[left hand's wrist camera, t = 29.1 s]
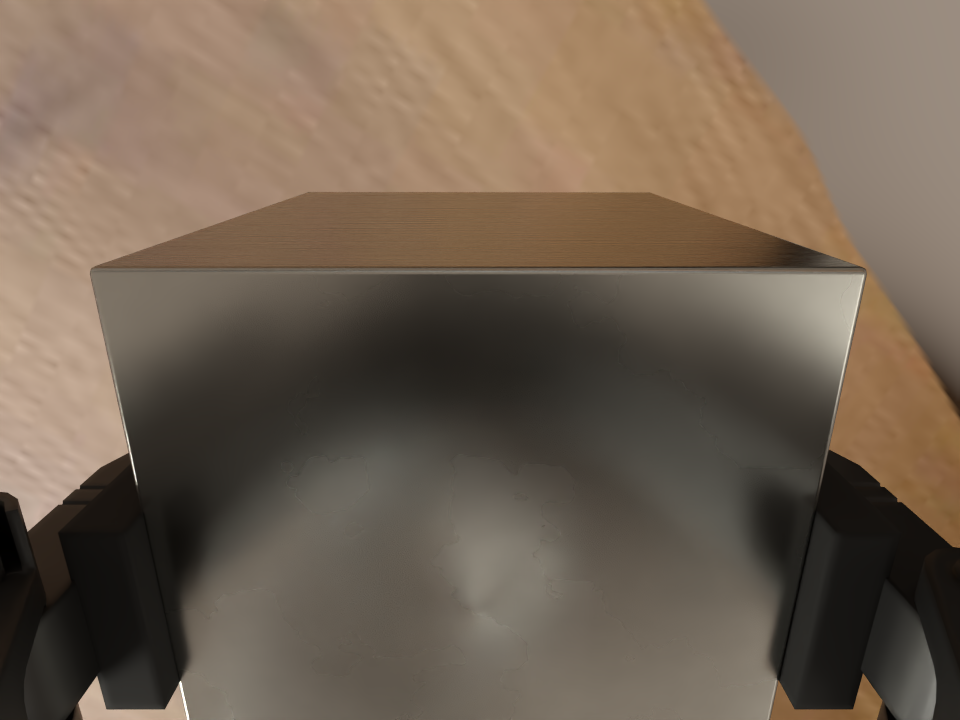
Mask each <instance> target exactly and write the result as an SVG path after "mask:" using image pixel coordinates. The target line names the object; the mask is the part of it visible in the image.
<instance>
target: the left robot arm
mask: <svg viewBox="0 0 960 720" xmlns="http://www.w3.org/2000/svg"><path fill="white" fill-rule="evenodd" d="M863 674H864V675H865V676H866V678H867V679H868V681H869V682H870V683H871V685H872V686H873V688H874V689H875V690H876V692H877V693H878V695H879V696H880V698H881V699H882V700H883V701H882V705H881V708H880V711H879V715H878V718H877V720H960V548H955V547H952V546H951V545H950V544H949V543H947V542H946V541H945V540H944V539H943V538H942V537H941V536H940V535H938V534H937V533H936V532H935V531H934V530H933V529H932V528H930V527H929V526H928V525H927V524H926V523H925V522H924V521H922V520H921V519H920V518H919V517H918V516H917V515H916V514H914V513H913V512H912V511H911V510H910V509H909V508H908V507H906V506H905V505H904V504H903V503H902V502H897V498H896V497H895V496H894V495H893V494H892V493H890V492H889V491H888V490H887V489H886V488H885V487H880V483H879V482H878V481H877V480H876V479H875V478H873V477H872V476H871V475H870V474H869V473H868V472H867V471H865V470H864V469H863V468H862V467H861V466H860V465H858V464H856V463H854V462H852V461H850V460H848V459H846V458H844V457H842V456H840V455H838V454H837V453H835V452H833V451H831V450H828V455H827V459H826V464H825V469H824V473H823V478H822V482H821V487H820V492H819V496H818V501H817V505H816V510H815V515H814V519H813V524H812V528H811V533H810V538H809V542H808V547H807V551H806V556H805V561H804V565H803V570H802V574H801V579H800V584H799V588H798V593H797V597H796V602H795V607H794V611H793V616H792V620H791V625H790V630H789V634H788V639H787V643H786V648H785V653H784V657H783V662H782V666H781V671H780V675H779V681H780V683H781V685H782V687H783V689H784V690H785V692H786V694H787V696H788V698H789V700H790V701H791V703H792V705H793V707H794V709H853V707H854V704H855V700H856V696H857V693H858V689H859V685H860V682H861V678H862V675H863ZM96 676H98V680H99V684H100V687H101V691H102V695H103V698H104V702H105V705H106V709H165V708H166V706H167V704H168V702H169V701H170V699H171V697H172V695H173V693H174V691H175V690H176V688H177V686H178V684H179V677H178V673H177V668H176V664H175V659H174V655H173V650H172V645H171V641H170V636H169V632H168V627H167V622H166V618H165V613H164V609H163V604H162V599H161V595H160V590H159V586H158V581H157V576H156V572H155V567H154V563H153V558H152V553H151V549H150V544H149V540H148V535H147V530H146V526H145V521H144V517H143V512H142V511H141V507H140V502H139V497H138V493H137V488H136V484H135V479H134V474H133V470H132V465H131V461H130V456H129V453H128V454H126V455H124V456H122V457H120V458H118V459H116V460H114V461H112V462H110V463H109V464H107V465H105V466H103V467H101V468H100V469H98V470H97V471H96V472H95V473H94V474H93V475H92V476H90V477H89V478H88V479H87V480H86V481H85V482H84V483H83V484H81V485H80V489H76V490H75V491H74V492H72V493H71V494H70V495H69V496H68V497H67V498H66V499H64V500H63V504H62V505H58V506H57V507H55V508H54V509H53V510H52V511H51V512H50V513H49V514H47V515H46V516H45V517H44V518H43V519H42V520H41V521H40V522H38V523H37V524H36V525H35V526H34V527H33V528H32V529H31V530H29V531H28V532H27V529H26V526H25V522H24V519H23V515H22V512H21V509H20V505H19V502H18V499H17V498H15V497H13V496H12V495H10V494H9V493H5V492H0V720H83V719H82V715H81V711H80V708H79V705H78V702H79V700H80V699H81V698H82V696H83V695H84V693H85V692H86V691H87V689H88V688H89V686H90V685H91V683H92V682H93V681H94V679H95V678H96Z"/></svg>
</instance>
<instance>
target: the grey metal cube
mask: <svg viewBox="0 0 960 720" xmlns="http://www.w3.org/2000/svg"><path fill="white" fill-rule="evenodd" d="M866 275H867V273H866V270H865V268H862V267H860V266H857V265H854V264H851V263H849V262H846V261H843V260H840V259H837V258H834V257H832V256H829V255H826V254H823V253H820V252H817V251H814V250H812V249H809V248H806V247H803V246H800V245H797V244H795V243H792V242H789V241H786V240H783V239H780V238H777V237H775V236H772V235H769V234H766V233H763V232H760V231H758V230H755V229H752V228H749V227H746V226H743V225H740V224H738V223H735V222H732V221H729V220H726V219H723V218H721V217H718V216H715V215H712V214H709V213H706V212H703V211H701V210H698V209H695V208H692V207H689V206H686V205H684V204H681V203H678V202H675V201H672V200H669V199H666V198H664V197H661V196H658V195H655V194H652V193H587V192H308V193H305V194H302V195H299V196H296V197H293V198H291V199H288V200H285V201H282V202H279V203H276V204H273V205H270V206H268V207H265V208H262V209H259V210H256V211H253V212H250V213H247V214H244V215H242V216H239V217H236V218H233V219H230V220H227V221H224V222H221V223H219V224H216V225H213V226H210V227H207V228H204V229H201V230H198V231H195V232H193V233H190V234H187V235H184V236H181V237H178V238H175V239H172V240H170V241H167V242H164V243H161V244H158V245H155V246H152V247H149V248H146V249H144V250H141V251H138V252H135V253H132V254H129V255H126V256H123V257H121V258H118V259H115V260H112V261H109V262H106V263H103V264H100V265H97V266H95V267H93V268H91V270H90V276H91V281H92V286H93V290H94V295H95V299H96V304H97V309H98V313H99V318H100V322H101V327H102V332H103V336H104V341H105V345H106V350H107V355H108V359H109V364H110V368H111V373H112V378H113V382H114V387H115V391H116V396H117V401H118V405H119V410H120V414H121V419H122V424H123V428H124V433H125V437H126V442H127V447H128V451H129V456H130V461H131V465H132V470H133V474H134V479H135V484H136V488H137V493H138V497H139V502H140V507H141V511H142V512H143V517H144V521H145V526H146V530H147V535H148V540H149V544H150V549H151V553H152V558H153V563H154V567H155V572H156V576H157V581H158V586H159V590H160V595H161V599H162V604H163V609H164V613H165V618H166V622H167V627H168V632H169V636H170V641H171V645H172V650H173V655H174V659H175V664H176V668H177V673H178V677H179V686H180V691H181V695H182V700H183V705H184V709H185V714H186V718H187V720H770V717H771V712H772V708H773V703H774V698H775V694H776V689H777V685H778V680H779V675H780V671H781V666H782V662H783V657H784V653H785V648H786V643H787V639H788V634H789V630H790V625H791V620H792V616H793V611H794V607H795V602H796V597H797V593H798V588H799V584H800V579H801V574H802V570H803V565H804V561H805V556H806V551H807V547H808V542H809V538H810V533H811V528H812V524H813V519H814V515H815V510H816V505H817V501H818V496H819V492H820V487H821V482H822V478H823V473H824V469H825V464H826V459H827V455H828V450H829V446H830V441H831V436H832V432H833V427H834V423H835V418H836V413H837V409H838V404H839V400H840V395H841V390H842V386H843V381H844V377H845V372H846V367H847V363H848V358H849V354H850V349H851V344H852V340H853V335H854V331H855V326H856V321H857V317H858V312H859V308H860V303H861V298H862V294H863V289H864V285H865V280H866Z"/></svg>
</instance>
